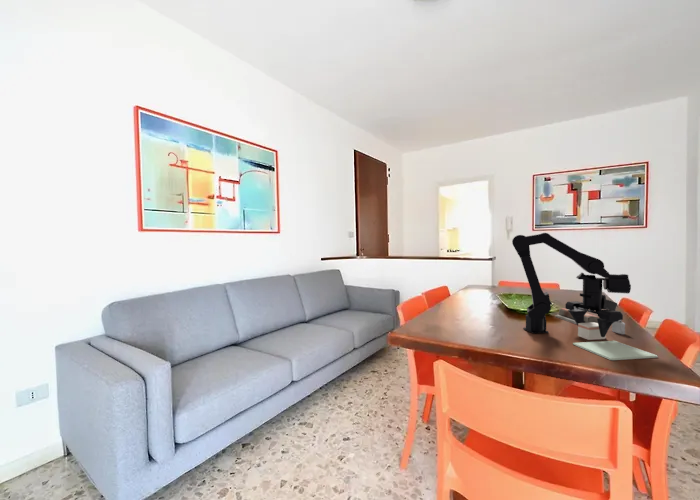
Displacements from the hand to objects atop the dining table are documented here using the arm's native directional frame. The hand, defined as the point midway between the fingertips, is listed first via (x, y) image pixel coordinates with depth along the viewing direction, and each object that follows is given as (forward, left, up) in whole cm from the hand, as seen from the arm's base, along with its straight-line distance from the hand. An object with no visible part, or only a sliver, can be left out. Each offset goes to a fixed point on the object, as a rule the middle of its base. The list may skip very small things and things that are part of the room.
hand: (591, 333), depth 115 cm
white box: (0, 0, -2) cm, 2 cm away
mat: (-5, -13, -2) cm, 14 cm away
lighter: (+15, +5, -2) cm, 16 cm away
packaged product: (+13, +20, -2) cm, 24 cm away
